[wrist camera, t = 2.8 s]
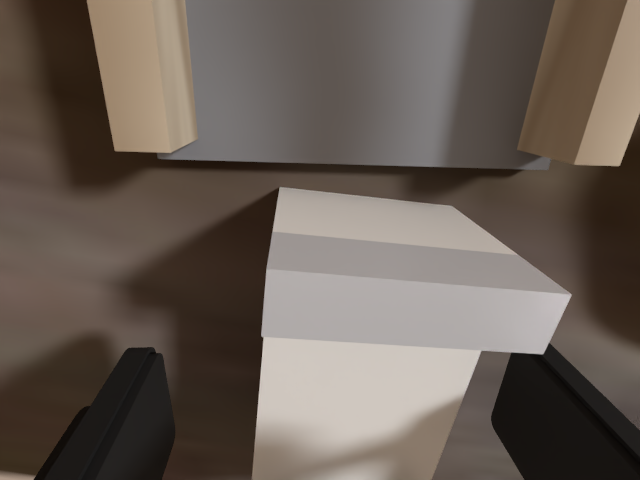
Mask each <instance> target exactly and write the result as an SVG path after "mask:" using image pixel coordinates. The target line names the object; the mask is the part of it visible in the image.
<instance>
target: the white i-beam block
mask: <svg viewBox="0 0 640 480" xmlns="http://www.w3.org/2000/svg"><path fill="white" fill-rule="evenodd" d="M571 295H572V294H570V293H569V292H568V291H566V290H565V289H564V288H562V287H561V286H560V285H558V284H557V283H555V282H554V281H553V280H551V279H550V278H549V277H547V276H546V275H545V274H543V273H542V272H541V271H539V270H538V269H537V268H535V267H534V266H532V265H531V264H530V263H528V262H527V261H526V260H524V259H523V258H522V257H520V256H519V255H518V254H516V253H515V252H513V251H512V250H511V249H509V248H508V247H507V246H505V245H504V244H503V243H501V242H500V241H499V240H497V239H496V238H494V237H493V236H492V235H490V234H489V233H488V232H486V231H485V230H484V229H482V228H481V227H480V226H478V225H477V224H475V223H474V222H473V221H471V220H470V219H469V218H467V217H466V216H465V215H463V214H462V213H461V212H459V211H458V210H457V209H455V208H454V207H452V206H447V205H438V204H429V203H420V202H411V201H401V200H392V199H383V198H374V197H365V196H356V195H347V194H338V193H329V192H320V191H311V190H301V189H292V188H283V187H280V188H279V194H278V201H277V207H276V213H275V219H274V225H273V232H272V238H271V244H270V250H269V257H268V263H267V269H266V281H265V294H264V306H263V319H262V331H261V337H264V339H263V351H262V363H261V375H260V387H259V399H258V411H257V423H256V435H255V447H254V459H253V471H252V480H432V477H433V474H434V472H435V469H436V467H437V464H438V461H439V459H440V456H441V454H442V451H443V449H444V446H445V443H446V441H447V438H448V436H449V433H450V430H451V428H452V425H453V423H454V420H455V418H456V415H457V412H458V410H459V407H460V405H461V402H462V399H463V397H464V394H465V392H466V389H467V387H468V384H469V381H470V379H471V376H472V374H473V371H474V368H475V366H476V363H477V361H478V358H479V356H480V353H481V351H497V352H513V353H529V354H544V352H545V350H546V348H547V346H548V344H549V342H550V339H551V337H552V335H553V333H554V331H555V329H556V327H557V325H558V323H559V321H560V318H561V316H562V314H563V312H564V310H565V308H566V306H567V304H568V302H569V300H570V297H571Z"/></svg>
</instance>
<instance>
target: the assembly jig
mask: <svg viewBox="0 0 640 480" xmlns="http://www.w3.org/2000/svg"><path fill="white" fill-rule="evenodd" d="M87 4H88V10H89V15H90V20H91V26H92V31H93V37H94V42H95V47H96V53H97V58H98V63H99V69H100V74H101V80H102V85H103V90H104V96H105V101H106V106H107V112H108V117H109V123H110V128H111V133H112V139H113V144H114V149H115V151H127V152H157V157H158V159H174V160H209V161H245V162H280V163H315V164H350V165H386V166H421V167H456V168H491V169H527V170H548V168H549V165H550V161H551V159H554V160H558V161H562V162H565V163H569V164H573V165H597V166H620V164H621V161H622V159H623V156H624V153H625V151H626V148H627V145H628V143H629V140H630V137H631V135H632V132H633V129H634V127H635V124H636V121H637V119H638V116H639V113H640V0H87Z"/></svg>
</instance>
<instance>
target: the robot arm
mask: <svg viewBox="0 0 640 480" xmlns="http://www.w3.org/2000/svg"><path fill="white" fill-rule="evenodd" d="M491 421H492V425H493V428H494V430H495V432H496V433H497V435H498V437H499V438H500V440H501V442H502V443H503V445H504V447H505V448H506V450H507V452H508V453H509V455H510V457H511V458H512V460H513V461H514V463H515V465H516V466H517V468H518V470H519V471H520V473H521V475H522V476H523V478H524V480H640V430H639V429H638V428H637V427H636V426H635V425H634V424H633V423H631V422H630V421H629V420H628V419H627V418H626V417H625V416H624V415H623V414H622V413H621V412H620V411H619V410H618V409H617V408H616V407H615V406H614V405H613V404H612V403H611V402H610V401H609V400H608V399H607V398H606V397H605V396H604V395H603V394H602V393H600V392H599V391H598V390H597V389H596V388H595V387H594V386H593V385H592V384H591V383H590V382H589V381H588V380H587V379H586V378H585V377H584V376H583V375H582V374H581V373H580V372H579V371H578V370H577V369H576V368H575V367H574V366H573V365H572V364H571V363H569V362H568V361H567V360H566V359H565V358H564V357H563V356H562V355H561V354H560V353H559V352H558V351H557V350H556V349H555V348H554V347H553V346H552V345H551V344H550V343H549V344H548V346H547V348H546V350H545V352H544V354H529V353H513V352H511V356H510V359H509V362H508V365H507V368H506V371H505V374H504V377H503V381H502V384H501V387H500V390H499V393H498V396H497V399H496V402H495V406H494V409H493V412H492V416H491ZM174 438H175V425H174V419H173V413H172V407H171V401H170V395H169V390H168V384H167V378H166V372H165V366H164V360H163V356H162V354H161V353H156V351H155V349H154V348H152V347H147V348H128V349H127V350H126V351H125V352H124V354H123V355H122V357H121V359H120V360H119V362H118V363H117V365H116V366H115V368H114V370H113V371H112V373H111V374H110V376H109V378H108V379H107V381H106V382H105V384H104V385H103V387H102V389H101V390H100V392H99V393H98V395H97V396H96V398H95V400H94V401H93V403H92V404H91V406H86V407H84V408H83V409H81V410H80V411H79V413H78V414H77V415H76V416H75V418H74V419H73V421H72V422H71V424H70V425H69V427H68V428H67V430H66V431H65V433H64V434H63V436H62V437H61V439H60V440H59V442H58V443H57V445H56V447H55V448H54V450H53V451H52V453H51V454H50V456H49V457H48V459H47V460H46V462H45V463H44V465H43V466H42V468H41V469H40V471H39V472H38V474H37V475H36V477H35V478H34V480H162V477H163V474H164V471H165V468H166V465H167V462H168V458H169V455H170V452H171V449H172V446H173V443H174Z"/></svg>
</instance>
